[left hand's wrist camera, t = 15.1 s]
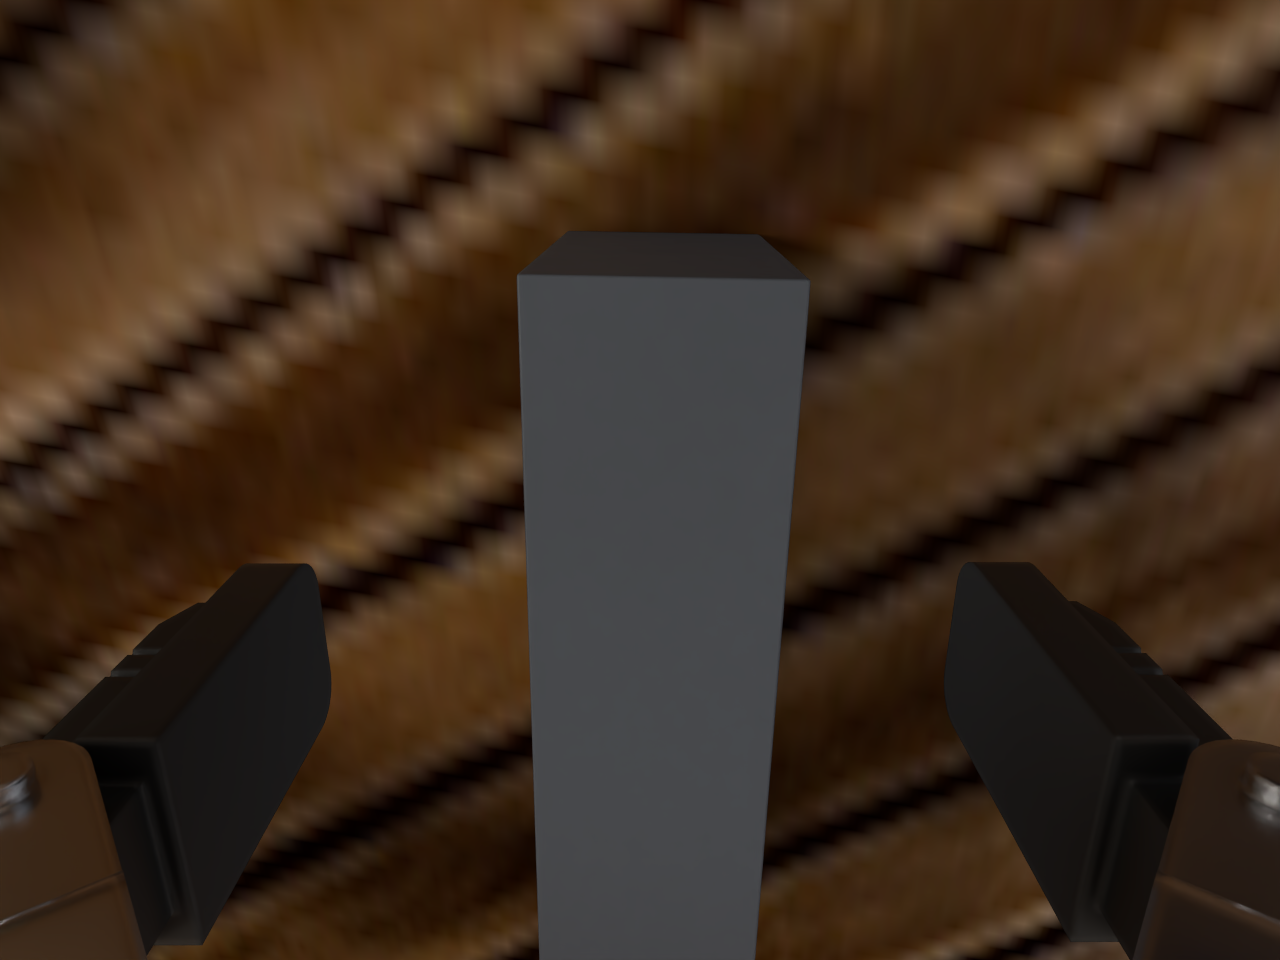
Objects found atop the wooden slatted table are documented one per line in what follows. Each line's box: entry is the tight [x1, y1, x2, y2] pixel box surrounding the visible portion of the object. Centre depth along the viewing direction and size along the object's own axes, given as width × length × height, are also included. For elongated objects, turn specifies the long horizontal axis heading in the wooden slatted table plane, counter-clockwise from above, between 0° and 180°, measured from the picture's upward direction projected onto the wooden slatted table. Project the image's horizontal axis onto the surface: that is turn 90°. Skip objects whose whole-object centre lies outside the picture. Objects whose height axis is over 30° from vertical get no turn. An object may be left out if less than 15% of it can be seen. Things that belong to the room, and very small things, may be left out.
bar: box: [517, 231, 810, 960], centre depth 25 cm, size 25×6×9 cm, turn 179°
